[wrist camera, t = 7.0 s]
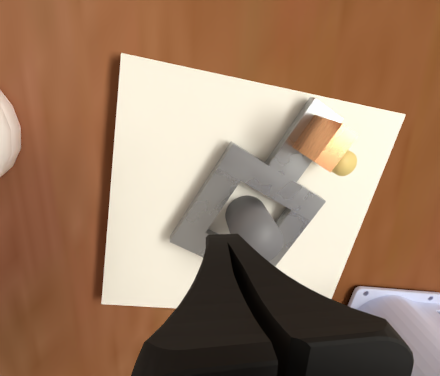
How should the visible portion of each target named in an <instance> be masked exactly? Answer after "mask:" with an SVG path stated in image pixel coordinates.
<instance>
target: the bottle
mask: <svg viewBox="0 0 440 376" xmlns="http://www.w3.org/2000/svg"><path fill="white" fill-rule="evenodd" d="M20 149H21V127H20V124H19V121H18V119H17V116H16V114H15V111H14V108H13V106H12V104H11V103H10V102H9V100H8V99H7V98H6V97H5V95H4V94H3V93H2V91H1V90H0V177H1V176H2V175H4V174H5V173H6V172H7V171H8V170H9V169H10V168H12V167H13V165H14V163H15V161H16V158H17V156H18V154H19V152H20Z"/></svg>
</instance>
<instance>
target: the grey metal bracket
mask: <svg viewBox="0 0 440 376" xmlns="http://www.w3.org/2000/svg"><path fill="white" fill-rule="evenodd" d="M342 120H343V118H342V117H340V116H339V115H338V114H336V113H335V112H334V111H332V110H331V109H330V108H328V107H327V106H326V105H324V104H323V103H322V102H320V101H319V100H318V99H316V98H313V97H310V98H309V99H308V101H307V102H306V104H305V105H304V106H303V108H302V109H301V111H300V112H299V114H298V115H297V117H296V118H295V119H294V121H293V122H292V124H291V125H290V127H289V128H288V130H287V131H286V132H285V134H284V135H283V137H282V138H281V140H280V141H279V143H278V144H277V146H276V147H275V148H274V150H273V151H272V153H271V154H270V156H269V157H268V159H267V160H266V161H265V162H264V161H263V160H261V159H259V158H258V157H256V156H255V155H253V154H251V153H250V152H248V151H246V150H245V149H243V148H242V147H240V146H238V145H237V144H235V143H234V142H232V141H231V142H230V143H229V145H228V146H227V148H226V150H225V151H224V153H223V154H222V156H221V157H220V159H219V160H218V162H217V164H216V165H215V167H214V168H213V170H212V171H211V173H210V174H209V176H208V178H207V179H206V181H205V182H204V184H203V185H202V187H201V188H200V190H199V192H198V193H197V195H196V196H195V198H194V199H193V201H192V202H191V204H190V205H189V207H188V209H187V210H186V212H185V213H184V215H183V216H182V218H181V219H180V221H179V223H178V224H177V226H176V227H175V229H174V230H173V232H172V233H171V235H170V242H171V243H173V244H175V245H177V246H179V247H182V248H184V249H186V250H188V251H190V252H192V253H195V254H197V255H199V256H201V257H204V253H205V249H206V237H207V236H208V235H215V234H218V233H215V232H213V231H211V230H209V229H208V228H209V227H210V225H211V224H212V222H213V221H214V219H215V218H216V216H217V215H218V214H219V212H220V211H221V209H222V208H223V206H224V205H225V203H226V202H227V200H228V199H229V197H230V196H231V194H232V193H233V191H234V190H235V189H236V187H237V186H238V184H239V183H240V181H242V182H244V183H245V184H247V185H249V186H251V187H252V188H254V189H256V190H257V191H259V192H261V193H263V194H264V195H266V196H268V197H270V198H271V199H273V200H275V201H276V202H278V203H280V204H282V205H283V206H285V207H286V208H285V210H284V211H283V213H282V214H281V215H280V217H279V218H278V219H277V221H276V222H275V223H276V224H277V226H278V227H279V229H280V230H281V232H282V234H283V246H282V249H281V251H280V252H279V254H278V255H277V256H276V257H275V258H274V259H272V260H271V261H269V262H270V263H271V264H272V265H274V266H276V265H277V264H278V262H279V261H280V260H281V259H282V257H283V256H284V255H285V253H286V252H287V251H288V250H289V248H290V247H291V246H292V245H293V243H294V242H295V241H296V239H297V238H298V237H299V236H300V234H301V233H302V232H303V230H304V229H305V228H306V227H307V225H308V224H309V223H310V221H311V220H312V219H313V218H314V216H315V215H316V214H317V212H318V211H319V210H320V209H321V207H322V206H323V205H324V204H325V202H326V201H325V200H324V199H323V198H322V197H321V196H319V195H317V194H316V193H314V192H313V191H311V190H309V189H308V188H306V187H304V186H303V185H301V184H300V183H298V182H297V181H298V180H299V178H300V177H301V176H302V174H303V173H304V172H305V170H306V169H307V167H308V166H309V165H310V163H311V162H312V161H314V162H315V163H317V164H318V165H320V166H321V167H323V168H324V169H326V170H327V171H329V172H330V173H331V171H332V170H333V169H334V167H335V166H336V165H337V163H338V162H339V161H340V159H341V158H342V157H343V155H344V154H345V153H346V152H347V150H348V149H349V148H350V146H351V145H352V144H353V142H354V141H355V140H356V138H357V137H358V136H359V135H357V134H356V133H355V132H353V131H352V130H351V129H349V128H348V127H347V126H345V125H344V124H343V123H341V121H342Z"/></svg>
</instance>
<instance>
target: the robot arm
mask: <svg viewBox="0 0 440 376" xmlns="http://www.w3.org/2000/svg"><path fill="white" fill-rule="evenodd" d="M131 376H440V293H439V292H427V291H415V290H402V289H390V288H377V287H365V286H358V287H356V288H355V290H354V292H353V294H352V296H351V298H350V301H349V303H348V305H347V306H346V305H344V304H341V303H339V302H336V301H334V300H332V299H330V298H327V297H325V296H323V295H321V294H319V293H317V292H315V291H313V290H311V289H309V288H307V287H306V286H304V285H302V284H300V283H299V282H297V281H295V280H294V279H292V278H291V277H289V276H288V275H286V274H285V273H283V272H282V271H280V270H279V269H278V268H276V267H275V266H274V265H272V264H271V263H270V262H269V261H267V260H266V259H265V258H264V257H263V256H261V255H260V254H259V253H258V252H257V251H256V250H255V249H254V248H252V247H251V246H250V245H249V244H248V243H247V242H246V241H245V240H244V239H243V238H242V237H241V236H240V235H239V234H215V235H208V236H207V237H206V249H205V253H204V257H203V260H202V263H201V266H200V268H199V270H198V273H197V275H196V277H195V279H194V281H193V283H192V285H191V287H190V289H189V290H188V292H187V294H186V295H185V297H184V298H183V300H182V301H181V303H180V304H179V306H178V307H177V308H176V310H175V311H174V312H173V313H172V314H171V316H170V317H169V318H168V319H167V320H166V322H165V323H164V324H163V325H162V326H161V327H160V328H159V329H158V330H157V331H156V332H155V333H154V334H153V335H152V336H151V337H150V338H149V339H148V340H146V341H145V342H144V344H143V347H142V349H141V351H140V354H139V356H138V358H137V361H136V363H135V366H134V369H133V372H132V375H131Z"/></svg>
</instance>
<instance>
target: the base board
mask: <svg viewBox="0 0 440 376" xmlns="http://www.w3.org/2000/svg"><path fill="white" fill-rule="evenodd" d="M310 97H313V98H316V99H318V100H319V101H320V102H322V103H323V104H324V105H326V106H327V107H328V108H330V109H331V110H332V111H334V112H335V113H336V114H338V115H339V116H340V117H342V118H343V120H342V121H341V123H343V124H344V125H345V126H347V127H348V128H349V129H351V130H352V131H353V132H355V133H356V134H357V135H359V136H358V137H357V138H356V140H355V141H354V142H353V144H352V145H351V146H350V148H349V149H348V150H347V152H346V153H345V154H344V155H343V157H342V158H341V159H340V161H339V162H338V163H337V165H336V166H335V167H334V169H333V170H332V171H331V173H330V172H329V171H327V170H326V169H324V168H323V167H321V166H320V165H318V164H317V163H315V162H314V161H312V162H311V163H310V165H309V166H308V167H307V169H306V170H305V172H304V173H303V174H302V176H301V177H300V178H299V180H298V181H297V182H298V183H300V184H301V185H303V186H304V187H306V188H308V189H309V190H311V191H313V192H314V193H316V194H317V195H319V196H321V197H322V198H323V199H324V200H325V201H326V202H325V204H324V205H323V206H322V207H321V209H320V210H319V211H318V212H317V214H316V215H315V216H314V218H313V219H312V220H311V221H310V223H309V224H308V225H307V227H306V228H305V229H304V230H303V232H302V233H301V234H300V236H299V237H298V238H297V239H296V241H295V242H294V243H293V245H292V246H291V247H290V248H289V250H288V251H287V252H286V253H285V255H284V256H283V257H282V259H281V260H280V261H279V262H278V264H277V265H276V266H275V267H276V268H278V269H279V270H280V271H282V272H283V273H285V274H286V275H288V276H289V277H291V278H292V279H294V280H295V281H297V282H299V283H300V284H302V285H304V286H306V287H307V288H309V289H311V290H313V291H315V292H317V293H319V294H321V295H323V296H325V297H327V298H330V299H332V296H333V294H334V291H335V289H336V286H337V284H338V281H339V279H340V276H341V274H342V271H343V269H344V266H345V264H346V262H347V259H348V257H349V254H350V252H351V249H352V247H353V244H354V242H355V239H356V237H357V234H358V232H359V229H360V227H361V224H362V222H363V219H364V217H365V214H366V212H367V209H368V207H369V205H370V202H371V200H372V197H373V195H374V192H375V190H376V187H377V185H378V182H379V180H380V177H381V175H382V172H383V170H384V167H385V165H386V162H387V160H388V157H389V155H390V152H391V150H392V148H393V145H394V143H395V140H396V138H397V135H398V133H399V130H400V128H401V125H402V123H403V120H404V118H405V115H406V114H401V113H397V112H392V111H387V110H383V109H378V108H373V107H369V106H364V105H360V104H355V103H350V102H346V101H341V100H336V99H332V98H327V97H323V96H318V95H313V94H309V93H304V92H299V91H295V90H290V89H286V88H281V87H276V86H272V85H267V84H262V83H258V82H253V81H249V80H244V79H239V78H235V77H230V76H225V75H221V74H216V73H212V72H207V71H202V70H198V69H193V68H188V67H184V66H179V65H175V64H170V63H165V62H161V61H156V60H151V59H147V58H142V57H138V56H133V55H128V54H124V53H121V61H120V74H119V87H118V99H117V112H116V125H115V137H114V150H113V163H112V175H111V188H110V201H109V213H108V226H107V239H106V252H105V264H104V277H103V290H102V302H101V304H108V305H126V306H144V307H162V308H177V307H178V306H179V304H180V303H181V301H182V300H183V298H184V297H185V295H186V294H187V292H188V290H189V289H190V287H191V285H192V283H193V281H194V279H195V277H196V275H197V273H198V270H199V268H200V266H201V263H202V260H203V257H201V256H199V255H197V254H195V253H192V252H190V251H188V250H186V249H184V248H182V247H179V246H177V245H175V244H173V243H171V242H170V235H171V233H172V232H173V230H174V229H175V227H176V226H177V224H178V223H179V221H180V219H181V218H182V216H183V215H184V213H185V212H186V210H187V209H188V207H189V205H190V204H191V202H192V201H193V199H194V198H195V196H196V195H197V193H198V192H199V190H200V188H201V187H202V185H203V184H204V182H205V181H206V179H207V178H208V176H209V174H210V173H211V171H212V170H213V168H214V167H215V165H216V164H217V162H218V160H219V159H220V157H221V156H222V154H223V153H224V151H225V150H226V148H227V146H228V145H229V143H230V142H231V141H232V142H234V143H235V144H237V145H238V146H240V147H242V148H243V149H245V150H246V151H248V152H250V153H251V154H253V155H255V156H256V157H258V158H259V159H261V160H263V161H264V162H265V161H266V160H267V159H268V157H269V156H270V154H271V153H272V151H273V150H274V148H275V147H276V146H277V144H278V143H279V141H280V140H281V138H282V137H283V135H284V134H285V132H286V131H287V130H288V128H289V127H290V125H291V124H292V122H293V121H294V119H295V118H296V117H297V115H298V114H299V112H300V111H301V109H302V108H303V106H304V105H305V104H306V102H307V101H308V99H309V98H310ZM285 208H286V207H285V206H283V205H282V204H280V203H278V202H276V201H275V200H273V199H271V198H270V197H268V196H266V195H264V194H263V193H261V192H259V191H257V190H256V189H254V188H252V187H251V186H249V185H247V184H245V183H244V182H242V181H240V183H239V184H238V186H237V187H236V189H235V190H234V191H233V193H232V194H231V196H230V197H229V199H228V200H227V202H226V203H225V205H224V206H223V208H222V209H221V211H220V212H219V214H218V215H217V216H216V218H215V219H214V221H213V222H212V224H211V225H210V227H209V228H208V229H209V230H211V231H213V232H215V233H218V234H239V235H240V236H241V237H242V238H243V239H244V240H245V241H246V242H247V243H248V244H249V245H250V246H251V247H252V248H254V249H255V250H256V251H257V252H258V253H259V254H260V255H261V256H263V257H264V258H265V259H266V260H267V261H271V260H272V259H274V258H275V257H276V256H277V255H278V254H279V252H280V251H281V249H282V246H283V234H282V232H281V230H280V229H279V227H278V226H277V224H276V223H275V222H276V221H277V219H278V218H279V217H280V215H281V214H282V213H283V211H284V210H285Z"/></svg>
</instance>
